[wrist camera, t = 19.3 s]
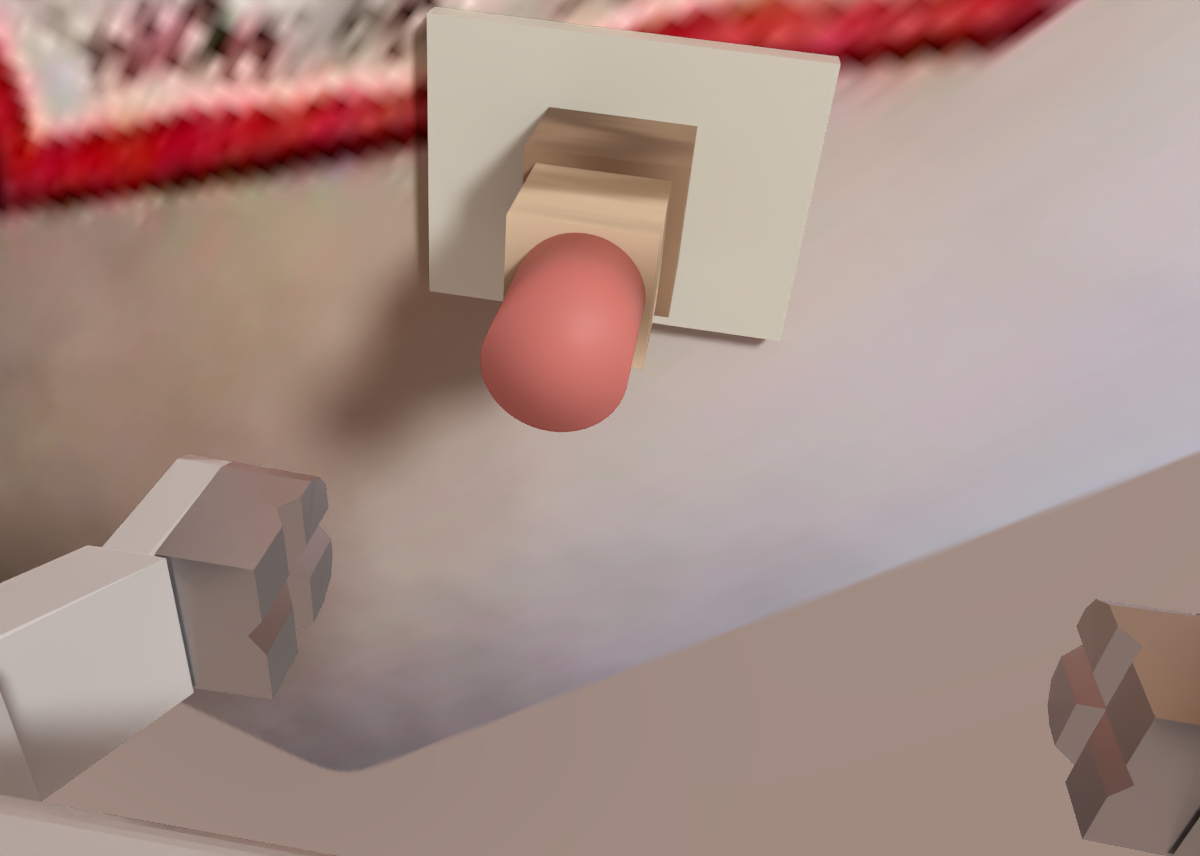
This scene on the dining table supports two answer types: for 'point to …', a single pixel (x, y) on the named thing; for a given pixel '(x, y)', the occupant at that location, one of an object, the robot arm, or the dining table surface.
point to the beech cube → (593, 223)
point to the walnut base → (623, 164)
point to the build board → (637, 90)
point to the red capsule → (565, 334)
